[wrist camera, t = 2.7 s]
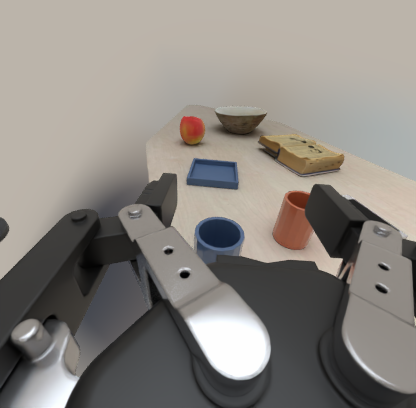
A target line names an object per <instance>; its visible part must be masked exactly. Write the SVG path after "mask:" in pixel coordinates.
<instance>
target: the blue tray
mask: <svg viewBox="0 0 416 408" xmlns="http://www.w3.org/2000/svg"><path fill="white" fill-rule="evenodd" d="M187 185H197V186H208V187H218V188H229V189H238V172H237V162H229V161H218V160H207V159H197V158H194V159H193V162H192V165H191V168H190V171H189V173H188V176H187Z"/></svg>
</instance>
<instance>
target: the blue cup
mask: <svg viewBox="0 0 416 408" xmlns="http://www.w3.org/2000/svg"><path fill="white" fill-rule="evenodd" d="M243 242H244V231H243V230H242V228H241V227H240V225H239V224H237V223H236V222H234V221H233V220H230V219H227V218H223V217H211V218H207V219H205V220H202V221H201V222H200V223H199V224H198V225H197V226H196V229H195V237H194V251H195V252H196V254H197V255H198V256H199V257H200V258H201V260H202V261H203V262H204V263H205V264H208V263H212V262H216V257H217V255H230V256H241V251H242V247H243Z"/></svg>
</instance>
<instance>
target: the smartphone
mask: <svg viewBox="0 0 416 408" xmlns="http://www.w3.org/2000/svg"><path fill="white" fill-rule="evenodd" d="M341 196H343V197H345V198H346V199H348V200H349V201H350V202H351V203H352V205H354V206H355V207H356V208H357V209H358V210H359V211H360V212H361V213H362V214H363V215H364V216H365V217H366V218H367V219H369V220H370V221H378V222H381V223H384V224H387V225H389V226H391V227H393V228H394V229H396V230H397V231H398V232H399V233H400V234H401V235H402V239H406V238H407V237H408V236H407V235H406V234H405V233H403V232H402V231H400V230H399V229H397V228H396V227H394V226H393V225H392V224H390V223H389V222H387V221H386V220H384V219H383V218H381V217H380V216H379V215H377V214H376V213H374V212H373V211H371V210H370V209H368V208H367V207H365V206H364V205H363V204H361V203H360V202H358V201H357V200H355V199H354V198H352V197H351V196H349V195H341Z"/></svg>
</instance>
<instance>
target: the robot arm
mask: <svg viewBox="0 0 416 408" xmlns="http://www.w3.org/2000/svg"><path fill="white" fill-rule="evenodd" d="M176 207H177V175H176V174H170V173H163V174H162V176H161V178H160V179H159V181H152V182H151V183H149V184H147V186H146V187H145V190H144V191H143V192H142V194H141V195H140V197H139V198H138V200H137V201H136V203H135V204H133V205H129V206H126V207H124V208H122V209H121V210H120V212H119V214H118V216H115V217H108V218H99V216H98V213H97V212H96V211H94V210H91V209H82V210H77V211H73V212H71V213H69V214H67V215H65V216H64V217H63V218H62V219H61V220H60V221H59V222H58V223H57V224H56V225H55V226H54V227H53V228H52V229H51V230H50V231H49V232H48V233H47V234H46V235H45V236H44V237H43V238H42V239H41V240H40V241H39V242H38V243H37V244H36V245H35V246H34V247H33V248H32V249H31V250H30V251H29V252H28V253H27V254H26V255H25V256H24V257H23V258H22V259H21V260H20V261H19V262H18V263H17V264H16V265H15V266H14V267H13V268H12V269H11V270H10V271H9V272H8V273H7V274H6V275H5V276H4V277H3V278H2V279H1V280H0V408H416V326H415V322H414V316H415V318H416V242H414V241H410V240H406V239H402V235H401V234H400V233H399V232H398V231H397V230H396V229H394V228H393V227H391V226H389V225H387V224H384V223H381V222H378V221H370V220H369V219H367V218H366V217H365V216H364V215H363V214H362V213H361V212H360V211H359V210H358V209H357V208H356V207H355V206H354V205H352V203H351V202H350V201H349V200H348V199H346V198H345V197H343V196H341V195H340V194H339V193H338V192H337V191H336V190H335V189H334V188H333V187H332V186H331V185H323V184H315V185H314V186H313V188H312V190H311V193H310V196H309V198H308V201H307V204H306V207H305V217H306V218H307V220H308V222H309V223H310V225H311V227H312V228H313V230H314V231H315V233H316V235H317V236H318V238H319V240H320V241H321V243H322V244H323V246H324V248H325V249H326V251H327V252H328V254H329V256H330V257H331V258H342V259H343V260H342V262H341V264H340V266H339V269H338V272H337V274H336V277H335V276H334V275H331V274H329V273H327V272H324V271H321V270H318V268H317V266H316V264H315V262H312V261H299V260H286V261H279V262H272V263H264V262H260V261H257V260H253V259H249V258H245V257H242V256H230V255H217V257H216V262H212V263H208V264H205V263H204V262H203V261H202V260H201V258H200V257H199V256H198V255H197V254H196V252H195V251H194V250H193V249H192V248H191V247H190V245H189V244H188V243H187V242H186V241H185V239H184V238H183V237H182V236H181V235H180V233H179V232H178V231H177V230H176V229H175V228H174V227H173V226H171V222H172V219H173V216H174V213H175V210H176ZM123 261H128V262H129V264H130V266H131V268H132V271H133V273H134V275H135V277H136V279H137V282H138V284H139V286H140V288H141V290H142V293H143V296H144V299H145V303H146V305H147V308H148V311H147V312H146V313H145V314H144V315H143V316H141V318H139V319H138V320H137V321H136V322H135V323H134V324H133V325H132V326H130V327H129V328H128V329H127V330H126V331H125V332H124V333H123V334H122V335H120V336H119V337H118V338H117V339H116V340H115V341H114V342H113V343H111V344H110V345H109V346H108V347H107V348H106V349H105V350H104V351H103V352H102V353H100V355H98V356H97V357H96V358H95V359H94V360H93V361H92V362H91V363H90V365H89V366H88V367H87V368H86V370H85V371H84V372H83V374H82V375H81V377H77V376H76V367H77V364H78V361H79V356H80V347H79V345H78V343H77V341H76V339H75V338H74V336H75V333H76V332H77V329H78V328H79V325H80V323H81V321H82V320H83V317H84V316H85V314H86V312H87V310H88V307H89V305H90V303H91V301H92V299H93V297H94V295H95V293H96V291H97V289H98V287H99V285H100V283H101V281H102V279H103V277H104V275H105V273H106V271H107V269H108V267H109V265H110V264H112V263H118V262H123Z"/></svg>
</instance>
